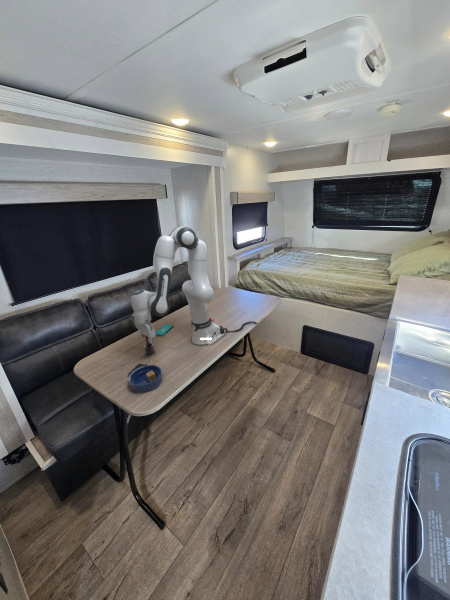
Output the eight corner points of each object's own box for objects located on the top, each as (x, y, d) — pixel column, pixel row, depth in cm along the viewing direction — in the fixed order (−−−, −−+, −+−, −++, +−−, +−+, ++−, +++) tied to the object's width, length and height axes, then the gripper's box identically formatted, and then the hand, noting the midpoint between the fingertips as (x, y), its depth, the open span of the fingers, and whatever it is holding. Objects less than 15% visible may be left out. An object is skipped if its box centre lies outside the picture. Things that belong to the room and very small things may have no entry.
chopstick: (151, 351, 146) (146, 330, 141) (152, 353, 145) (148, 331, 139) (148, 353, 145) (143, 331, 139) (149, 354, 144) (145, 332, 138)
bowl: (154, 368, 131) (152, 361, 129) (168, 382, 120) (167, 374, 118) (126, 383, 122) (123, 375, 120) (138, 399, 111) (136, 390, 109)
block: (153, 375, 125) (151, 370, 123) (156, 379, 122) (155, 373, 121) (146, 379, 122) (145, 373, 121) (149, 382, 120) (148, 376, 119)
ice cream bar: (144, 360, 139) (127, 377, 126) (144, 358, 138) (126, 374, 125) (152, 361, 137) (135, 379, 124) (151, 359, 137) (135, 376, 124)
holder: (152, 350, 148) (150, 342, 146) (156, 353, 145) (154, 345, 143) (144, 353, 145) (142, 345, 143) (148, 357, 142) (146, 348, 140)
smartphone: (173, 325, 177) (162, 335, 163) (173, 326, 177) (162, 336, 164) (164, 324, 179) (153, 334, 165) (164, 325, 179) (153, 335, 166)
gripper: (156, 321, 131) (160, 343, 136) (140, 311, 145) (144, 331, 150) (145, 325, 127) (149, 347, 132) (130, 314, 141) (134, 335, 146)
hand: (146, 339), depth 141 cm, fingers open, 8 cm apart
